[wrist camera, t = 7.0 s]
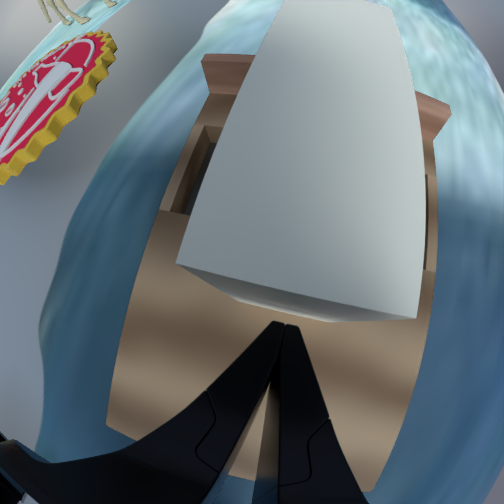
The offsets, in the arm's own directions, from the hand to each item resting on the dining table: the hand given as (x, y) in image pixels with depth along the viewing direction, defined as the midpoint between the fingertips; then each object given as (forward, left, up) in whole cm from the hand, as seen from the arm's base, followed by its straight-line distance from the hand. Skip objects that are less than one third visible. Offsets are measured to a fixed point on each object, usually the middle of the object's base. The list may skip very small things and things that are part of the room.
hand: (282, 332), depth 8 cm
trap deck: (+3, -1, -9) cm, 9 cm away
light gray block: (+7, -3, -6) cm, 10 cm away
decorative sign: (+33, +32, -10) cm, 47 cm away
